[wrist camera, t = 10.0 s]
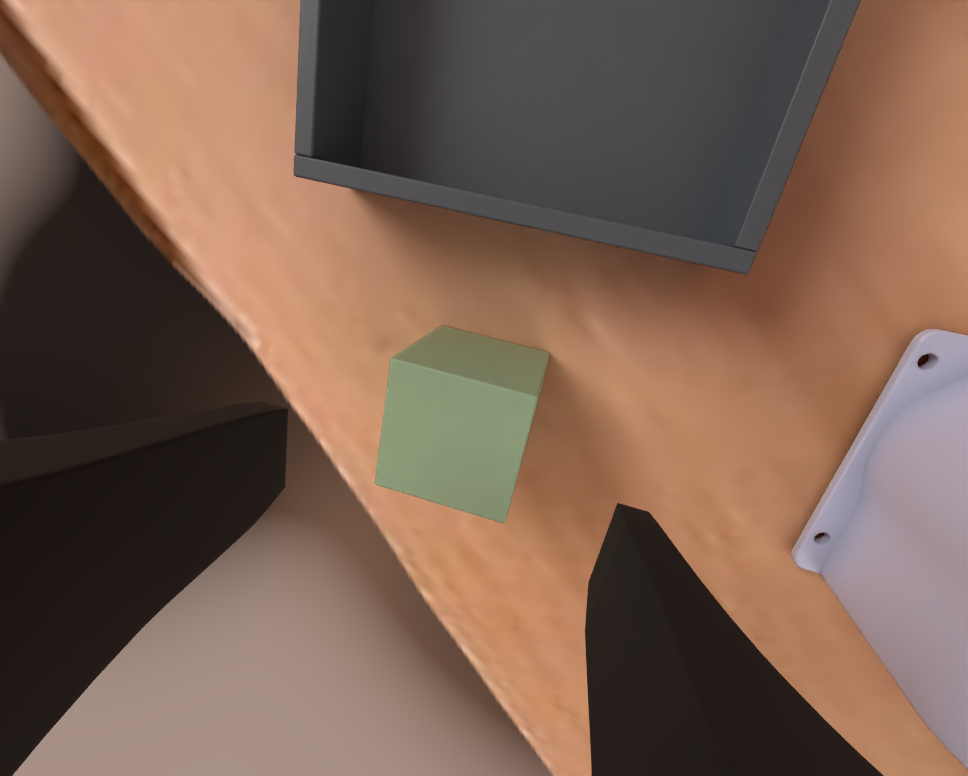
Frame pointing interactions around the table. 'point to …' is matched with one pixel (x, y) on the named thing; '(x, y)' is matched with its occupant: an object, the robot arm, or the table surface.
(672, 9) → the tub
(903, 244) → the table surface
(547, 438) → the table surface
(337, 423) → the table surface
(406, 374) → the block
